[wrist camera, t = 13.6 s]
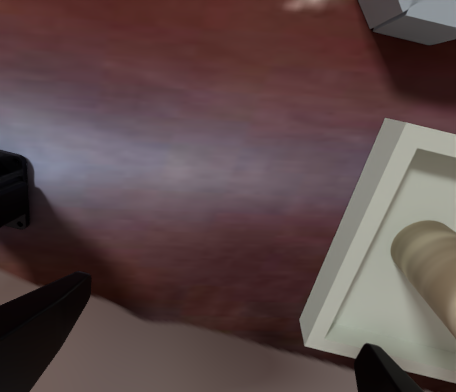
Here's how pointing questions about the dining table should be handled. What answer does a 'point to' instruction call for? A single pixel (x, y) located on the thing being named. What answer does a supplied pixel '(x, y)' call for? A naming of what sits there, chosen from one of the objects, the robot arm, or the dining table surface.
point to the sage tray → (387, 256)
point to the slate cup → (412, 19)
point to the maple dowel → (430, 265)
